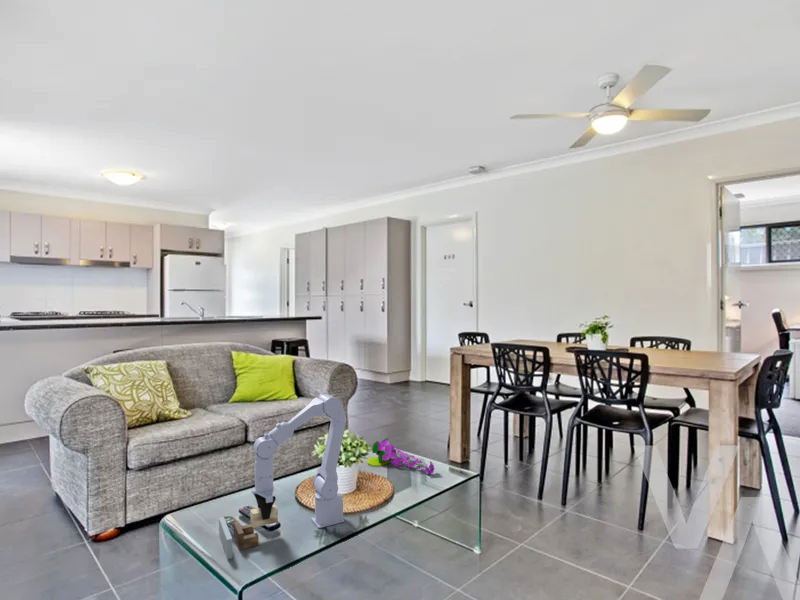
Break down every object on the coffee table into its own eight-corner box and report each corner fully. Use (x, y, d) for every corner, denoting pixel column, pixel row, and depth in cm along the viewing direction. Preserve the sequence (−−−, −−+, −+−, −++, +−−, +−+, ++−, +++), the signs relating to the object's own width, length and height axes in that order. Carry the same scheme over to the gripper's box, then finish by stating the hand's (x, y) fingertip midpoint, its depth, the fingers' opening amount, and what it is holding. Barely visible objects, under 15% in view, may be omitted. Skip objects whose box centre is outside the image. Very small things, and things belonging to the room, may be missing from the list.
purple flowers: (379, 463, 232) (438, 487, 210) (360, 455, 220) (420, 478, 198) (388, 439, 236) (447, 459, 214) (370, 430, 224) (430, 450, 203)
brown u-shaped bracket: (252, 532, 157) (252, 517, 157) (258, 544, 149) (258, 529, 149) (233, 537, 154) (233, 521, 154) (238, 550, 146) (238, 534, 146)
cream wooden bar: (275, 517, 158) (274, 504, 158) (277, 522, 155) (277, 508, 155) (250, 523, 154) (250, 509, 154) (252, 528, 151) (252, 514, 151)
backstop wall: (223, 534, 156) (223, 516, 156) (232, 558, 142) (232, 538, 142) (219, 535, 155) (218, 517, 155) (227, 559, 141) (227, 539, 141)
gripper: (247, 470, 159) (247, 510, 159) (256, 485, 146) (256, 528, 146) (268, 466, 162) (268, 505, 162) (279, 480, 149) (279, 523, 150)
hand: (264, 516), depth 154 cm, fingers closed on cream wooden bar, 4 cm apart
